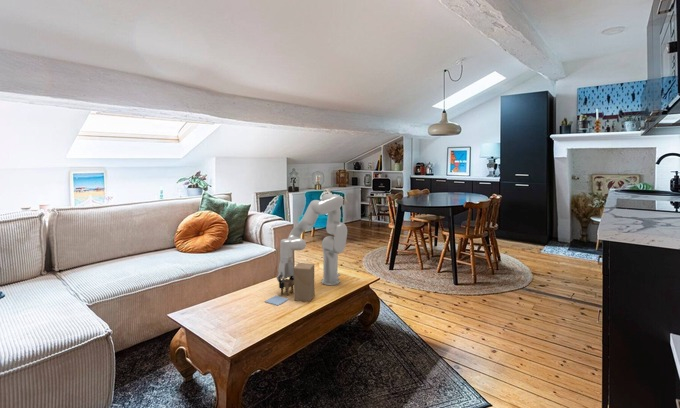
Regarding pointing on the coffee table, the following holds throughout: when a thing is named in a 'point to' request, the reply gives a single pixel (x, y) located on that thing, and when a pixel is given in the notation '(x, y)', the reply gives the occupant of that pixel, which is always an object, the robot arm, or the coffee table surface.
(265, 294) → the coffee table surface
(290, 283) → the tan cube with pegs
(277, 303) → the mat
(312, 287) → the wooden block
